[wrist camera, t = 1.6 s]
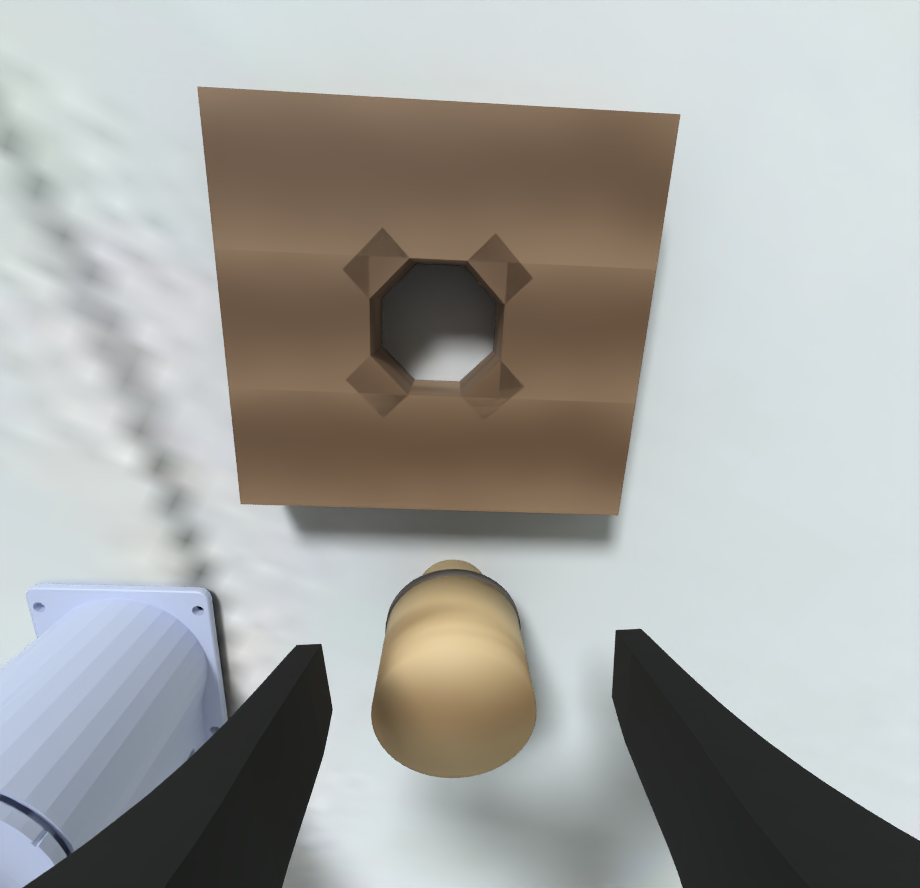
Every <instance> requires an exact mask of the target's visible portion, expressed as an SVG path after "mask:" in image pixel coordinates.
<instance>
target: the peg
mask: <svg viewBox="0 0 920 888" xmlns="http://www.w3.org/2000/svg"><path fill="white" fill-rule="evenodd" d="M520 629H521V627H520V620H519V616H518V612H517V608H516V606H515V604H514V602H513V600H512V598H511V597H510V595H509V594H508V593H507V591H506V590H505V589H504V588H503V587H502V586H500V585H499V584H498V583H497V582H495V581H494V580H492V579H491V578H489V577H487V576H485V575H482V573H481V572H480V571H479V570H478V569H477V568H476V567H475V566H473V565H472V564H470V563H467V562H465V561H461V560H445V561H441V562H438V563H436V564H434V565H432V566H431V567H430V568H428V569H427V570H426V571H425V573H424V574H423V576H420V577H419V578H417V579H415V580H413V581H412V582H410V583H409V584H408V585H406V586H405V587H404V588H403V589H402V590H401V591H400V592H399V594H398V595H397V596H396V597H395V599H394V601H393V602H392V604H391V607H390V609H389V612H388V617H387V621H386V630H385V639H384V644H383V649H382V655H381V660H380V665H379V671H378V676H377V681H376V687H375V692H374V697H373V703H372V711H371V718H372V725H373V729H374V732H375V735H376V737H377V739H378V741H379V742H380V744H381V745H382V747H383V748H384V749H385V750H386V752H387V753H388V754H389V755H390V756H392V757H393V758H394V759H395V760H396V761H398V762H399V763H401V764H402V765H404V766H406V767H408V768H410V769H412V770H414V771H417V772H420V773H423V774H426V775H430V776H436V777H444V778H461V777H469V776H474V775H478V774H482V773H485V772H488V771H491V770H493V769H495V768H497V767H499V766H501V765H503V764H504V763H506V762H508V761H509V760H510V759H511V758H513V757H514V756H515V755H516V754H517V753H518V752H519V751H520V750H521V749H522V748H523V747H524V745H525V744H526V743H527V741H528V740H529V738H530V736H531V734H532V731H533V729H534V726H535V721H536V702H535V697H534V692H533V688H532V683H531V678H530V673H529V669H528V664H527V659H526V655H525V650H524V645H523V640H522V636H521V631H520Z"/></svg>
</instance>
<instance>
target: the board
mask: <svg viewBox="0 0 920 888" xmlns="http://www.w3.org/2000/svg"><path fill="white" fill-rule="evenodd" d="M198 97H199V106H200V116H201V126H202V135H203V145H204V155H205V164H206V174H207V184H208V193H209V203H210V212H211V222H212V232H213V241H214V251H215V261H216V270H217V280H218V290H219V299H220V309H221V319H222V328H223V338H224V347H225V357H226V367H227V376H228V386H229V396H230V405H231V415H232V425H233V434H234V444H235V453H236V463H237V473H238V482H239V492H240V502H241V504H255V505H289V506H323V507H357V508H391V509H425V510H459V511H493V512H527V513H561V514H595V515H618V513H619V506H620V500H621V493H622V487H623V480H624V474H625V468H626V461H627V455H628V448H629V442H630V435H631V429H632V422H633V416H634V410H635V403H636V397H637V390H638V384H639V377H640V371H641V365H642V358H643V352H644V345H645V339H646V332H647V326H648V320H649V313H650V307H651V300H652V294H653V287H654V281H655V274H656V268H657V262H658V255H659V249H660V242H661V236H662V229H663V223H664V217H665V210H666V204H667V197H668V191H669V184H670V178H671V172H672V165H673V159H674V152H675V146H676V139H677V133H678V126H679V120H680V114H664V113H646V112H629V111H612V110H594V109H577V108H560V107H542V106H525V105H507V104H490V103H473V102H455V101H438V100H421V99H403V98H386V97H369V96H351V95H334V94H316V93H299V92H282V91H264V90H247V89H230V88H212V87H198ZM415 264H435V265H456V266H465V267H466V268H467V269H468V271H469V272H470V273H471V274H472V275H473V276H474V278H475V279H476V280H477V281H478V282H479V283H480V285H481V286H482V287H483V288H484V289H485V290H486V292H487V293H488V294H489V295H490V296H491V297H492V299H493V300H494V301H495V302H496V316H495V332H494V348H493V351H492V352H491V353H490V354H489V355H488V356H487V357H486V358H485V359H484V360H483V361H481V362H480V363H479V364H478V365H477V366H476V367H475V368H474V369H473V370H472V371H471V372H469V373H468V374H467V375H466V376H465V377H464V378H463V379H462V380H461V381H460V382H458V381H432V380H414V379H413V378H412V377H411V376H410V375H409V374H408V373H407V371H406V370H405V369H404V368H403V367H402V366H401V365H400V364H399V363H398V362H397V361H396V360H395V359H394V358H393V357H392V356H391V355H390V354H389V353H388V352H387V351H386V350H385V349H384V347H383V346H382V297H383V296H384V295H385V294H386V293H387V292H388V291H389V290H390V289H391V288H392V287H393V286H394V285H395V284H396V283H397V282H398V281H399V280H400V279H401V278H402V277H403V276H404V275H405V274H406V273H407V272H408V271H409V270H410V269H411V268H412V267H413V266H414V265H415Z"/></svg>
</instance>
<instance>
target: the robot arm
mask: <svg viewBox="0 0 920 888" xmlns="http://www.w3.org/2000/svg"><path fill="white" fill-rule="evenodd" d="M26 598H27V602H28V606H29V610H30V613H31V617H32V621H33V625H34V628H35V632H36V636H37V639H36V640H34V641H33V642H32V643H31V644H30V645H28V646H27V647H26V648H25V649H24V650H22V651H21V652H20V653H19V654H18V655H16V656H15V657H14V658H13V659H12V660H10V661H9V662H8V663H7V664H6V665H4V666H3V667H2V668H1V669H0V888H282V885H283V882H284V878H285V875H286V871H287V868H288V864H289V861H290V858H291V855H292V852H293V849H294V846H295V843H296V839H297V836H298V833H299V830H300V827H301V824H302V821H303V818H304V815H305V812H306V808H307V805H308V802H309V799H310V796H311V793H312V790H313V787H314V783H315V780H316V777H317V774H318V771H319V768H320V764H321V761H322V758H323V755H324V750H325V745H326V741H327V736H328V731H329V726H330V720H331V715H332V710H333V709H332V703H331V697H330V691H329V685H328V680H327V674H326V668H325V662H324V656H323V651H322V645H321V644H311V645H296V647H295V648H294V649H293V650H292V651H291V652H290V653H289V654H288V655H287V656H286V657H285V658H284V659H283V661H282V662H281V663H280V664H279V665H278V666H277V667H276V668H275V670H274V671H273V672H272V673H271V674H270V675H269V676H268V677H267V678H266V680H265V681H264V682H263V683H262V684H261V685H260V686H259V687H258V688H257V690H256V691H255V692H254V693H253V694H252V695H251V696H250V697H249V698H248V699H247V700H246V701H245V702H244V704H243V705H242V706H241V707H240V708H239V709H238V710H237V711H236V712H235V713H234V714H233V715H232V716H231V717H230V718H229V719H228V717H227V709H226V701H225V694H224V686H223V679H222V671H221V664H220V656H219V648H218V641H217V633H216V626H215V618H214V610H213V603H212V596H211V594H210V592H209V591H208V590H206V589H204V588H200V587H163V586H121V585H79V584H36V585H34V586H33V587H31V588H30V589H29V590H27V592H26ZM41 603H42V604H43V605H44V606H43V605H42V604H41ZM197 606H200V607H202V608H203V610H200V609H199V608H197ZM612 699H613V702H614V706H615V709H616V713H617V716H618V720H619V723H620V727H621V730H622V733H623V737H624V740H625V743H626V745H627V748H628V750H629V753H630V755H631V758H632V760H633V763H634V765H635V768H636V770H637V773H638V775H639V777H640V780H641V782H642V785H643V787H644V790H645V792H646V794H647V797H648V799H649V802H650V804H651V806H652V809H653V811H654V814H655V816H656V819H657V821H658V823H659V826H660V828H661V831H662V833H663V835H664V838H665V840H666V843H667V845H668V848H669V850H670V853H671V856H672V858H673V861H674V864H675V866H676V869H677V872H678V874H679V877H680V881H681V884H682V887H683V888H920V841H919V840H917V839H916V838H914V837H912V836H910V835H909V834H907V833H905V832H903V831H902V830H900V829H898V828H896V827H895V826H893V825H891V824H890V823H888V822H886V821H885V820H883V819H882V818H880V817H878V816H877V815H875V814H873V813H872V812H870V811H868V810H867V809H865V808H864V807H862V806H860V805H859V804H857V803H856V802H854V801H853V800H851V799H850V798H848V797H846V796H845V795H843V794H842V793H840V792H839V791H837V790H836V789H834V788H833V787H831V786H829V785H828V784H826V783H825V782H823V781H822V780H820V779H819V778H818V777H816V776H815V775H813V774H812V773H810V772H809V771H807V770H806V769H804V768H803V767H802V766H800V765H799V764H797V763H796V762H795V761H793V760H792V759H791V758H789V757H788V756H787V755H785V754H784V753H782V752H781V751H780V750H778V749H777V748H776V747H774V746H773V745H771V744H770V743H769V742H767V741H766V740H765V739H764V738H762V737H761V736H760V735H758V734H757V733H756V732H755V731H753V730H752V729H751V728H750V727H748V726H747V725H746V724H745V723H744V722H742V721H741V720H740V719H739V718H737V717H736V716H735V715H734V714H733V713H731V712H730V711H729V710H728V709H727V708H725V707H724V706H723V705H722V704H721V703H720V702H718V701H717V700H716V699H715V698H714V697H713V696H712V695H711V694H710V693H708V692H707V691H706V690H705V689H704V688H703V687H702V686H701V685H700V684H698V683H697V682H696V681H695V680H694V679H693V678H692V677H691V676H690V675H689V674H688V673H686V672H685V671H684V670H683V669H682V668H681V667H680V666H679V665H678V664H677V663H676V662H675V661H674V660H673V659H672V658H671V657H670V656H669V655H668V654H667V653H666V652H665V651H664V650H662V649H661V648H660V647H659V646H658V645H657V644H656V643H655V642H654V641H653V640H652V639H651V638H650V637H649V636H648V635H647V634H646V633H645V632H644V631H643V630H642V629H629V630H616V636H615V653H614V671H613V688H612Z"/></svg>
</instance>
